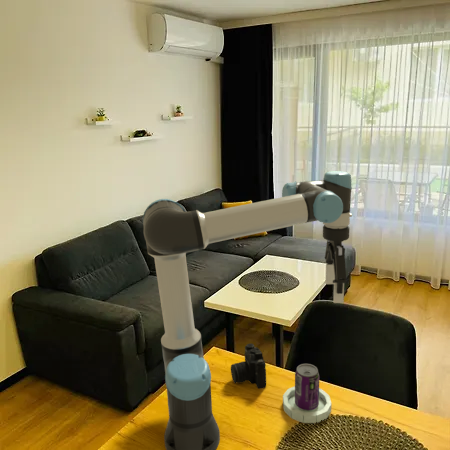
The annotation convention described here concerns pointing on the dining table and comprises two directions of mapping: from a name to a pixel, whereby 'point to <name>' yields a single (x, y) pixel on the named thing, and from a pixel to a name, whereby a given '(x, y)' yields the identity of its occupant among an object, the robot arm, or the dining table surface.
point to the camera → (250, 368)
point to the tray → (306, 415)
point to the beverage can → (307, 387)
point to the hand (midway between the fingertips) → (333, 292)
